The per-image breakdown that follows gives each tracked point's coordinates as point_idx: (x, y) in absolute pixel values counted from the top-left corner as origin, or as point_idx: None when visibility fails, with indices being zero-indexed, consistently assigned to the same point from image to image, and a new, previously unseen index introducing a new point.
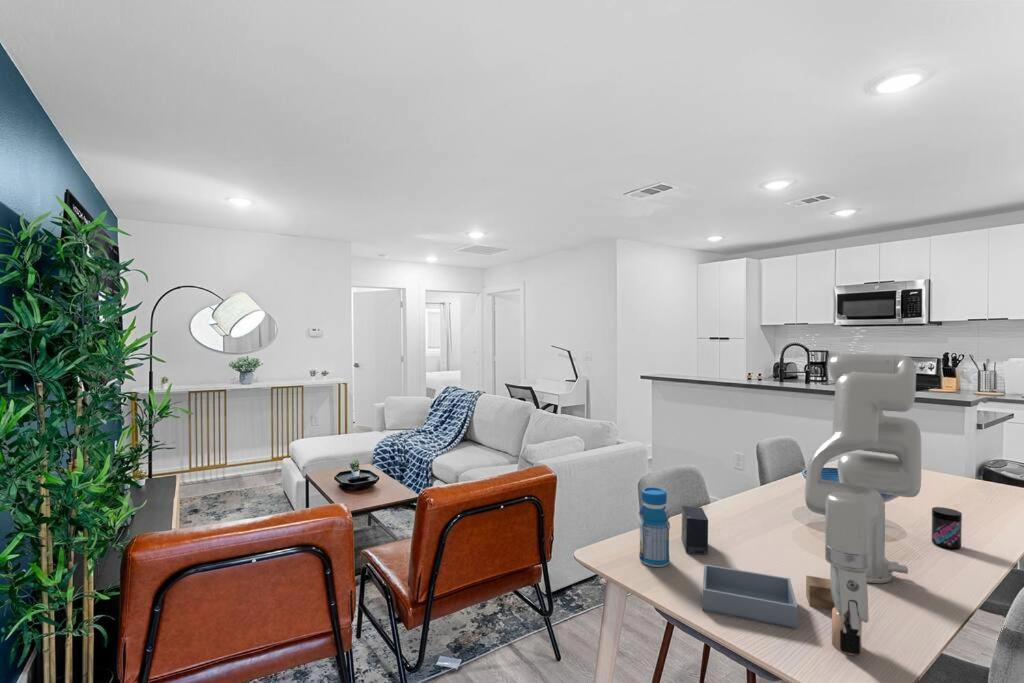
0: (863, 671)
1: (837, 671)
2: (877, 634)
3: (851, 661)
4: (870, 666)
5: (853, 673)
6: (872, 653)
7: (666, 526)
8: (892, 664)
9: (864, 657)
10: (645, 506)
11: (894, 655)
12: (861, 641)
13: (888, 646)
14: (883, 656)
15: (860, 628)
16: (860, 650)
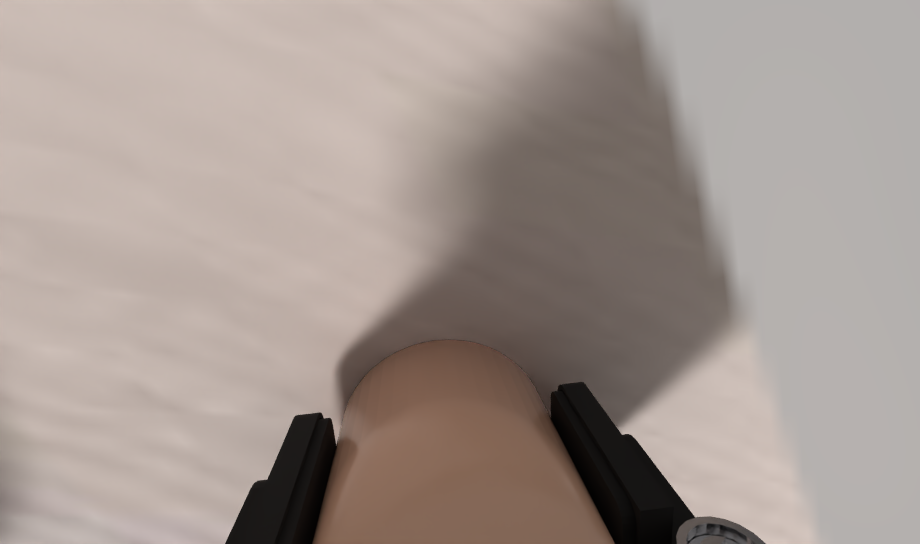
0: (722, 352)
1: (771, 492)
2: (35, 166)
3: (626, 413)
4: (642, 301)
5: (765, 411)
6: (442, 262)
7: None
8: (546, 131)
9: (533, 327)
10: None
11: (381, 80)
12: (478, 387)
13: (233, 102)
14: (448, 182)
15: (566, 518)
16: (496, 361)
